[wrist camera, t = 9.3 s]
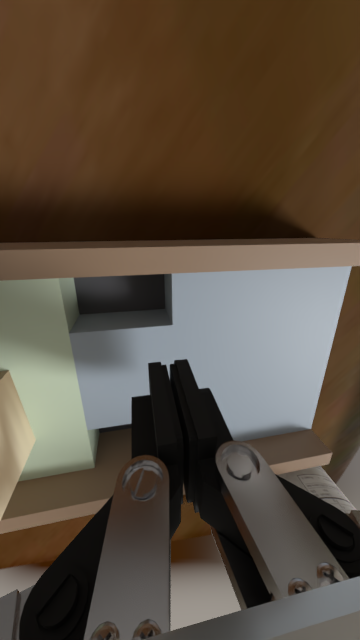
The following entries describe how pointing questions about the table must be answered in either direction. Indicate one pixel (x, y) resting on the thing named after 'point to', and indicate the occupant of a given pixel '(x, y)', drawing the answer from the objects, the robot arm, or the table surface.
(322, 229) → the table surface
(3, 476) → the maple block
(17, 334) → the box
